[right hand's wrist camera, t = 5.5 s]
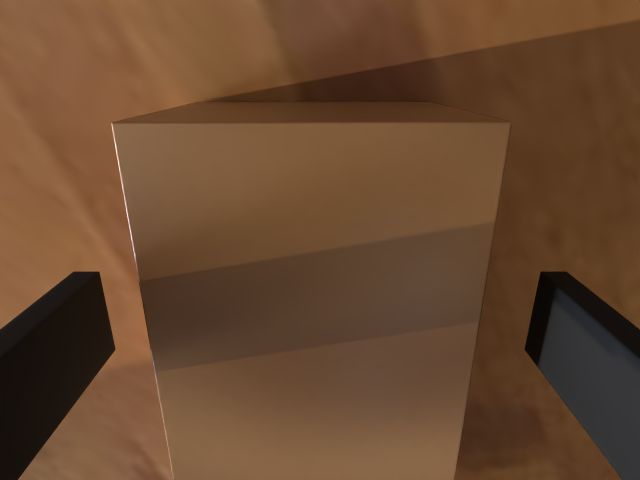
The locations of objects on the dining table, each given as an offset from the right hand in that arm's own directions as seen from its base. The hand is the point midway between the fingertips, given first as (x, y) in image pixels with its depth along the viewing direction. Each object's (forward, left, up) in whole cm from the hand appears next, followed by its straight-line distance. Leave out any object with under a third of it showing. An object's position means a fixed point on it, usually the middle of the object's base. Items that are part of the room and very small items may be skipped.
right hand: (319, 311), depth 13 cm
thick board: (-4, -34, -6) cm, 34 cm away
